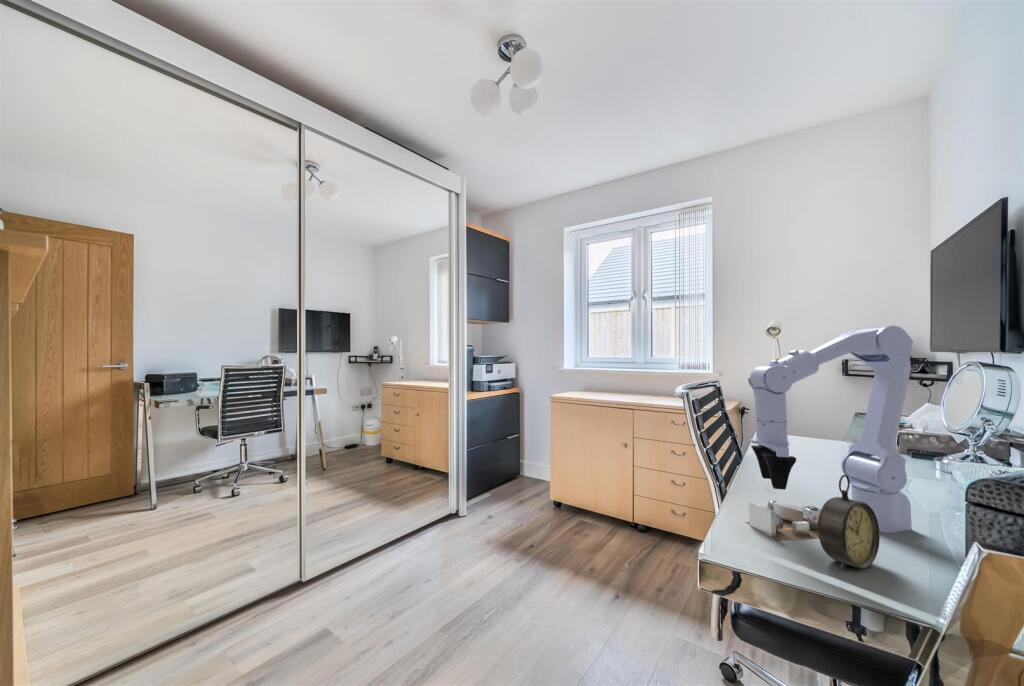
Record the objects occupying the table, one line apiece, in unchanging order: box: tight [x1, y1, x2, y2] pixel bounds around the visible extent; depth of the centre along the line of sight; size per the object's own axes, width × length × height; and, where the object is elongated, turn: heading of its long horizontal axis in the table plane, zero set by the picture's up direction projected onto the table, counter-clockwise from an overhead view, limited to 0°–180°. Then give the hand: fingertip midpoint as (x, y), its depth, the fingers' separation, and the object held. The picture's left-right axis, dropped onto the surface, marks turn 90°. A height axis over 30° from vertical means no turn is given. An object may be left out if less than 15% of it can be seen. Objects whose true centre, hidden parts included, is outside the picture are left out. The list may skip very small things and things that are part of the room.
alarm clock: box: [818, 474, 880, 571], centre depth 69 cm, size 11×5×16 cm, turn 114°
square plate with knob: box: [748, 500, 809, 538], centre depth 82 cm, size 9×6×5 cm, turn 98°
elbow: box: [766, 499, 822, 530], centre depth 86 cm, size 10×4×4 cm, turn 33°
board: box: [744, 519, 819, 542], centre depth 82 cm, size 17×9×1 cm, turn 98°
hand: (773, 483), depth 85 cm, fingers open, 7 cm apart
